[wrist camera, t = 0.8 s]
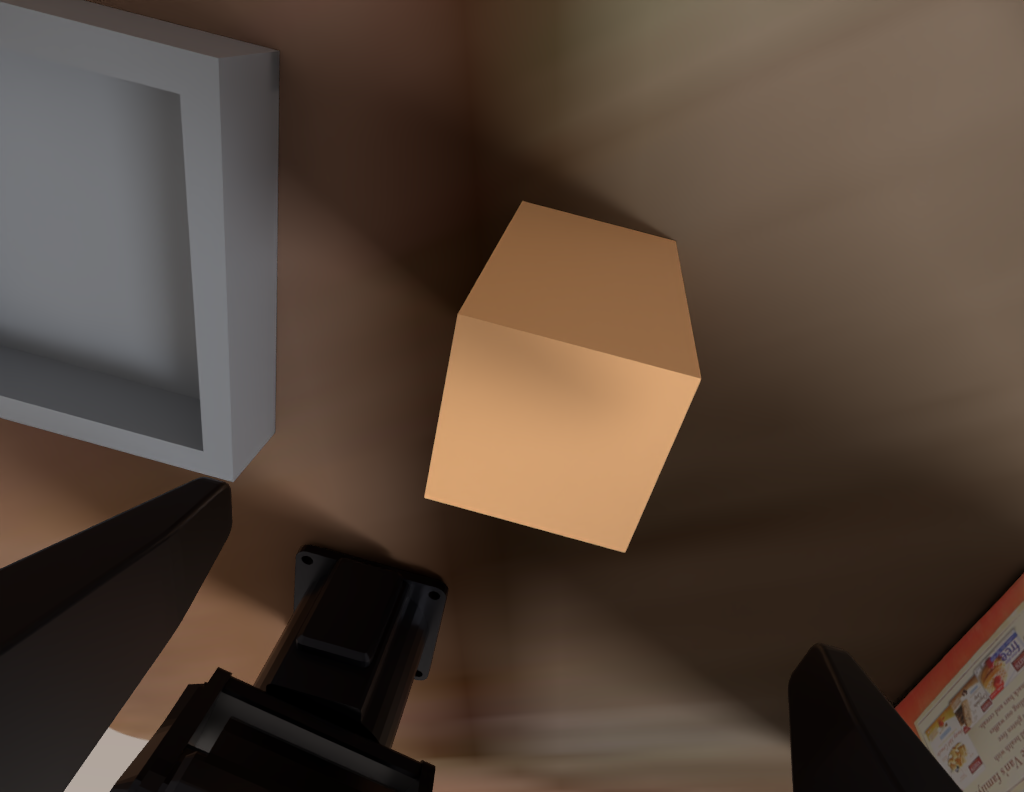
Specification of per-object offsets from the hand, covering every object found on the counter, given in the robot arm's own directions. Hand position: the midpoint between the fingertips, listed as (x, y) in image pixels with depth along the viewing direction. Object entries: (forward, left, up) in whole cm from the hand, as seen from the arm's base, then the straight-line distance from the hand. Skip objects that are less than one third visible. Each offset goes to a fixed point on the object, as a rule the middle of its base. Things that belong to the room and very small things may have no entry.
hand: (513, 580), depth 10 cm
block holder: (-2, +16, -12) cm, 20 cm away
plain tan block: (0, 0, -12) cm, 12 cm away
